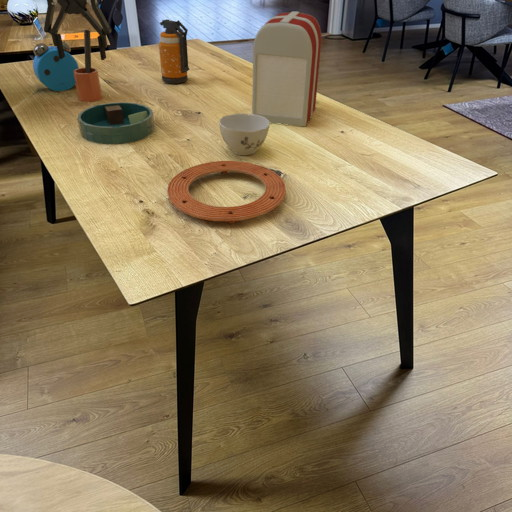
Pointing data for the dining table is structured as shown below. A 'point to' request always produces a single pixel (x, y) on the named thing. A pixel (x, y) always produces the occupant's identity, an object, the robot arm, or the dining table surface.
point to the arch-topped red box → (286, 68)
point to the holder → (88, 85)
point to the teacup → (244, 132)
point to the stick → (87, 51)
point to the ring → (192, 207)
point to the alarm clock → (54, 67)
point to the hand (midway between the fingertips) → (83, 58)
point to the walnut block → (114, 114)
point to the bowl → (102, 132)
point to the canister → (173, 52)
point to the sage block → (137, 117)
